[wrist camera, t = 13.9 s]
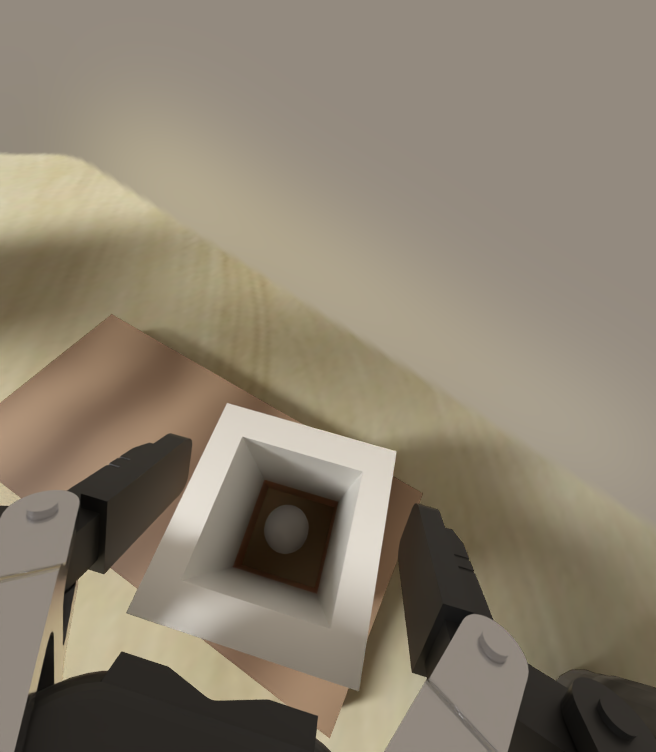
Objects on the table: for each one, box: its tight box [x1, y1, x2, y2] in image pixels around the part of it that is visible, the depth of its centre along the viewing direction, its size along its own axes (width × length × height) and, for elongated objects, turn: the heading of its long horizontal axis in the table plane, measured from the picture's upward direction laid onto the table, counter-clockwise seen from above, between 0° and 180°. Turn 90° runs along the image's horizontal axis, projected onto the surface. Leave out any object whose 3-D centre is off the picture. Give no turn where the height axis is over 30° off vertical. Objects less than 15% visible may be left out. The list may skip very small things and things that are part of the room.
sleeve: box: [126, 403, 397, 691], centre depth 11 cm, size 5×5×8 cm
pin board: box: [0, 314, 423, 738], centre depth 15 cm, size 22×10×7 cm, turn 61°
